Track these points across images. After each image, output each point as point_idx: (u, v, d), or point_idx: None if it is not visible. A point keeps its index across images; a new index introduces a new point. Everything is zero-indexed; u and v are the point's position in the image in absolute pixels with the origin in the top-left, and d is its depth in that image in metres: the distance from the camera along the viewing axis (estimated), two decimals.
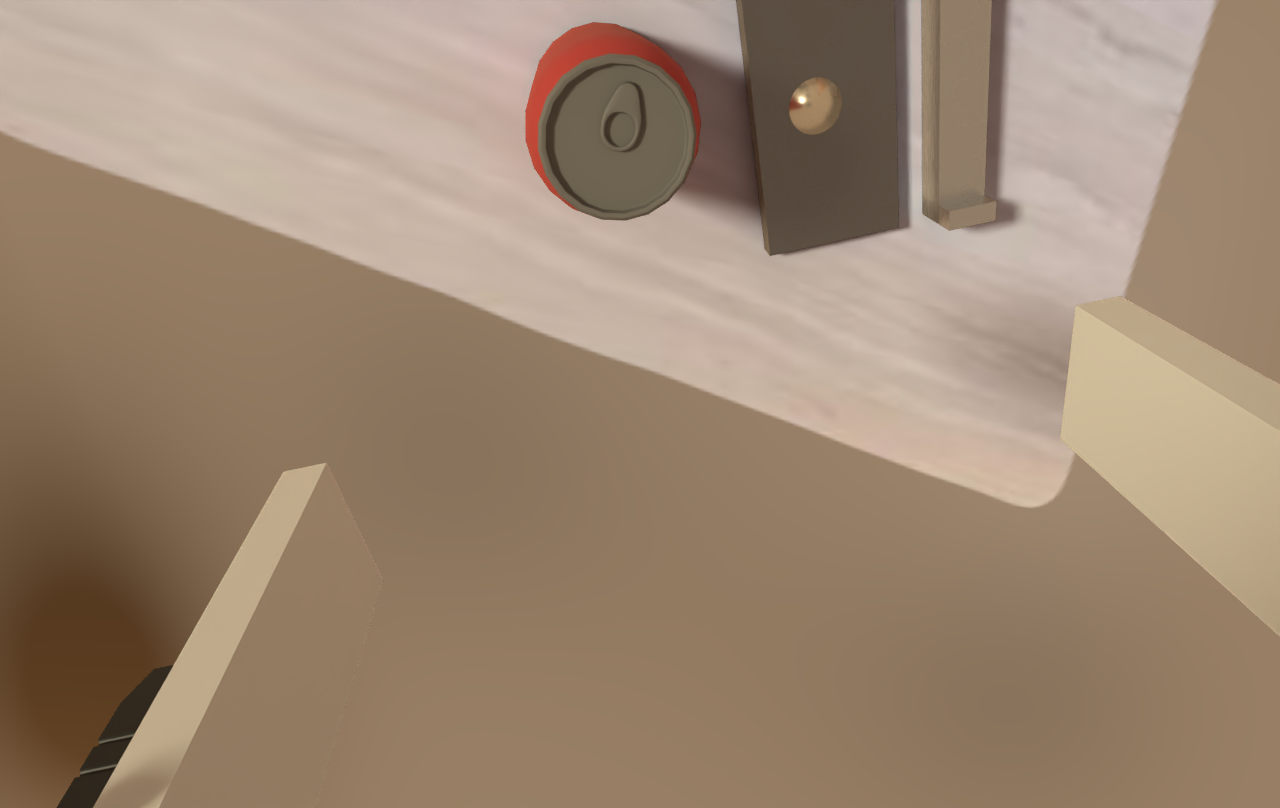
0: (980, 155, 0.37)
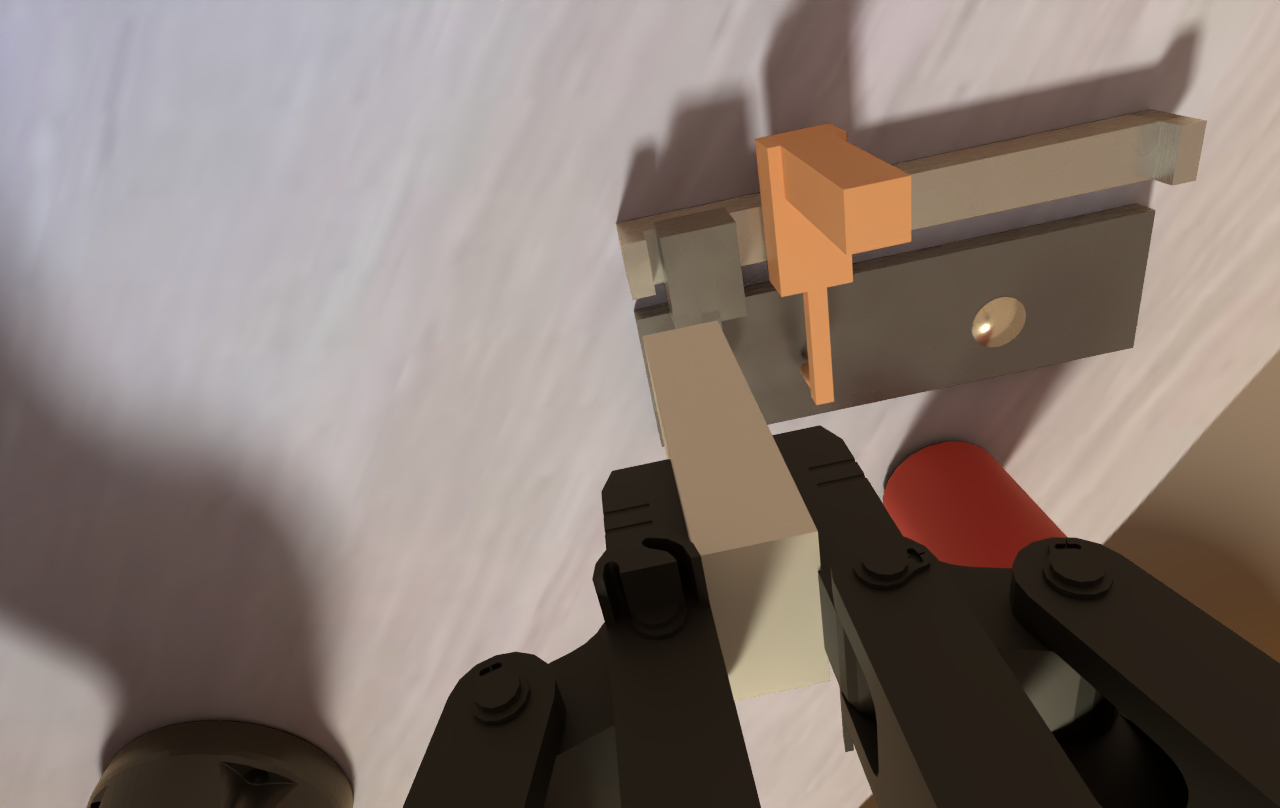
0: (1110, 139, 0.31)
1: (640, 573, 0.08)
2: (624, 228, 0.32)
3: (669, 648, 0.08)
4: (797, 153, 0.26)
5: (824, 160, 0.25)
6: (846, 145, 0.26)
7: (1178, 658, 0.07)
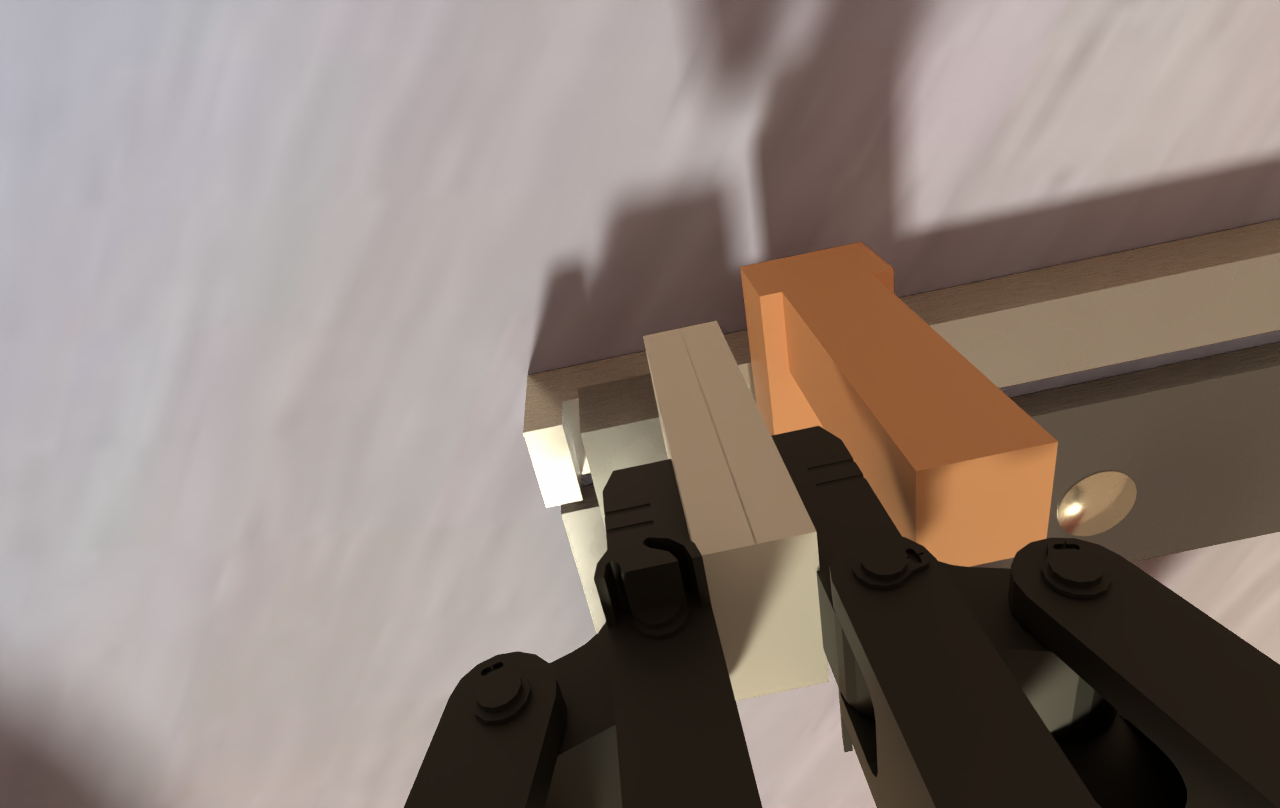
0: None
1: (641, 573, 0.08)
2: (536, 388, 0.21)
3: (670, 648, 0.08)
4: (812, 320, 0.15)
5: (863, 351, 0.13)
6: (899, 309, 0.15)
7: (1176, 658, 0.07)
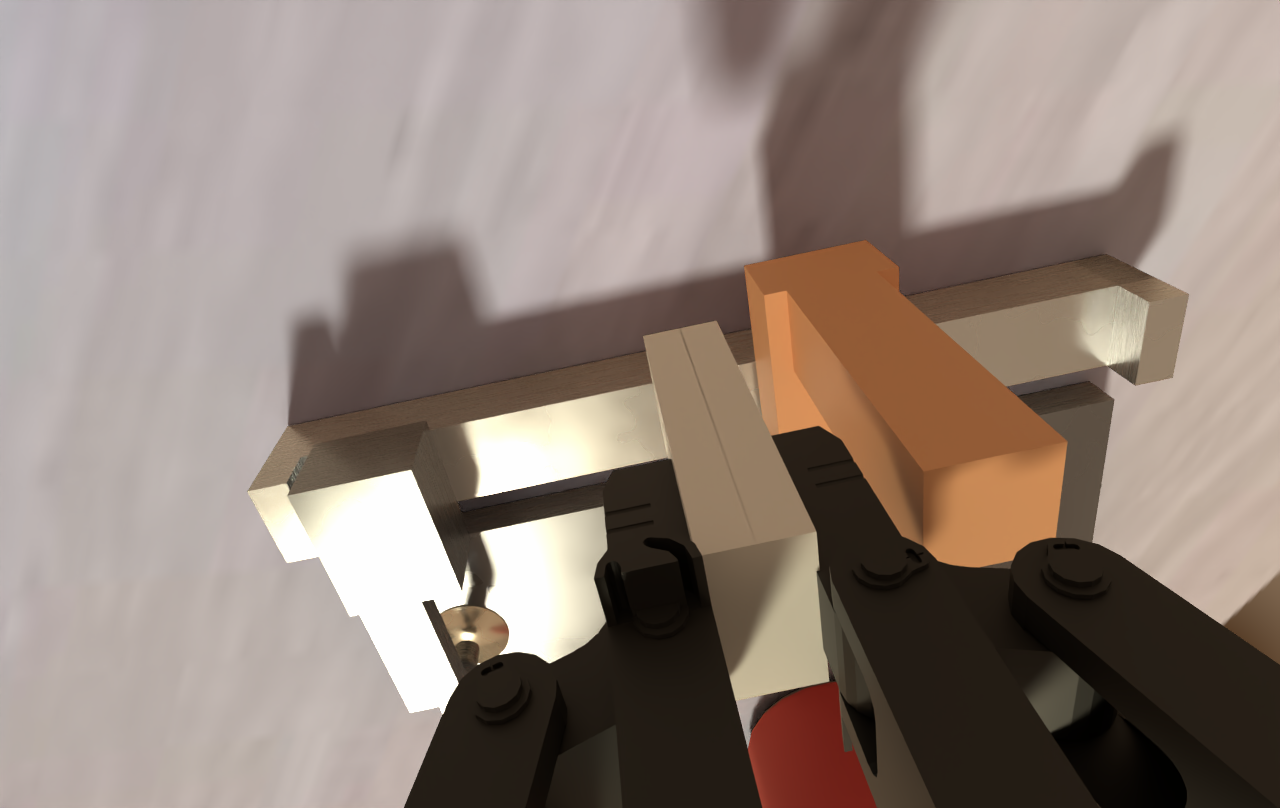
0: (1038, 312, 0.20)
1: (641, 573, 0.08)
2: (286, 441, 0.21)
3: (670, 648, 0.08)
4: (817, 319, 0.15)
5: (869, 350, 0.13)
6: (905, 308, 0.14)
7: (1177, 658, 0.07)
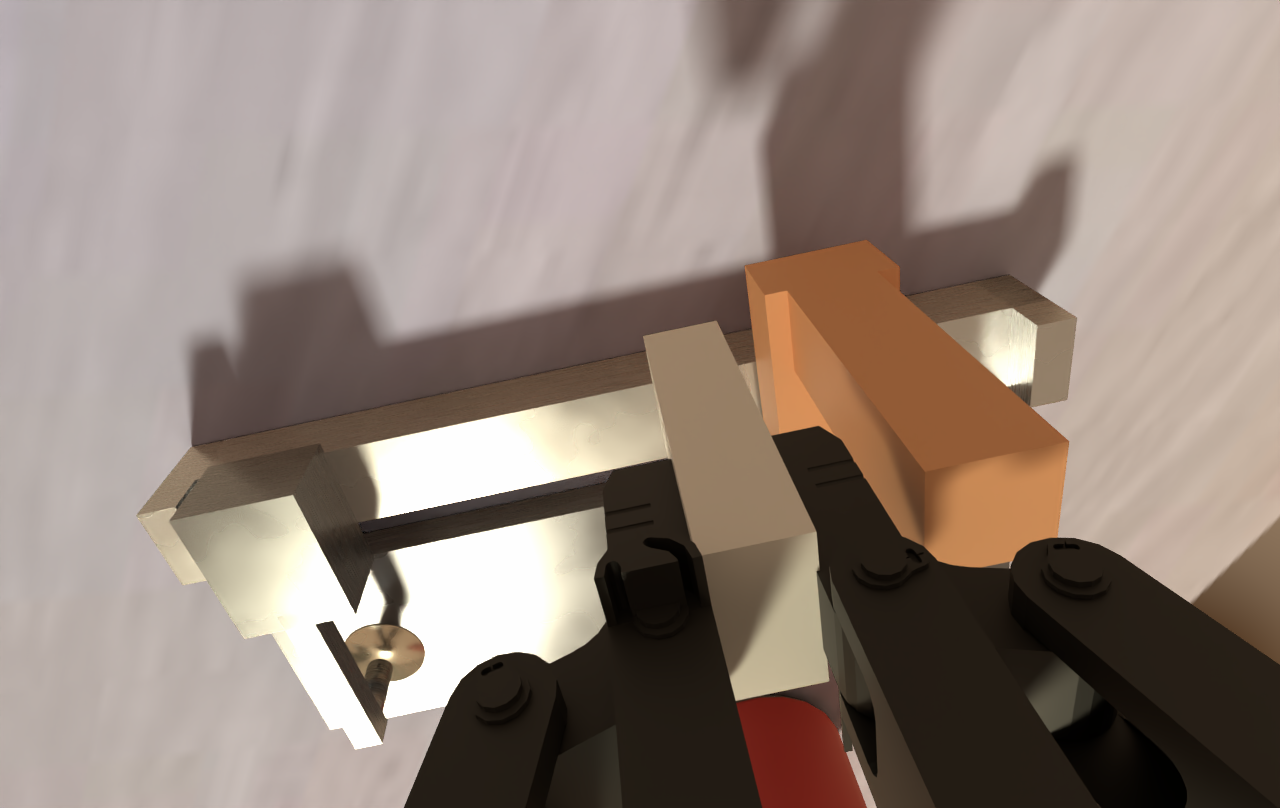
0: None
1: (641, 573, 0.08)
2: (186, 463, 0.21)
3: (670, 648, 0.08)
4: (818, 319, 0.15)
5: (870, 350, 0.13)
6: (906, 308, 0.14)
7: (1177, 658, 0.07)
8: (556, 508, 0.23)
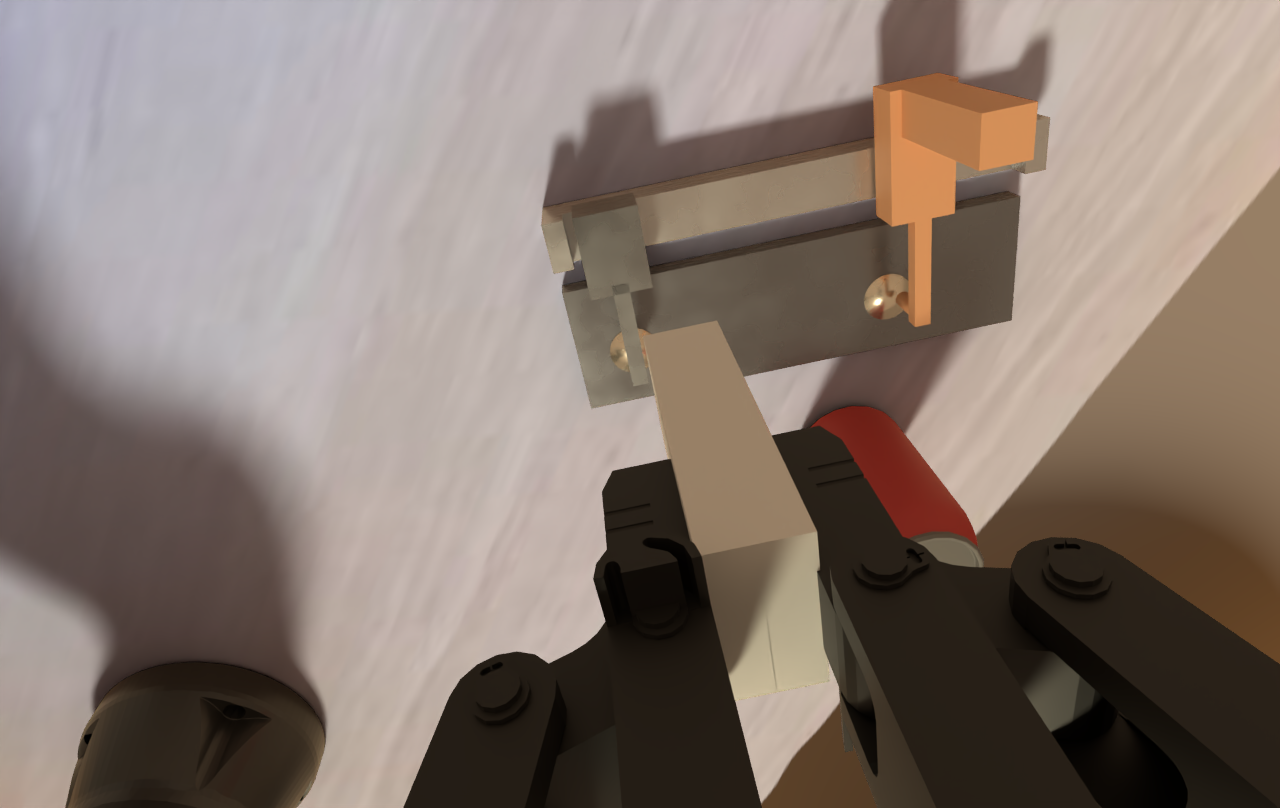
0: None
1: (641, 573, 0.08)
2: (548, 211, 0.37)
3: (669, 648, 0.08)
4: (921, 93, 0.31)
5: (951, 96, 0.29)
6: (964, 86, 0.30)
7: (1177, 658, 0.07)
8: (746, 251, 0.39)
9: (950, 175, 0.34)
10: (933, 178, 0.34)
